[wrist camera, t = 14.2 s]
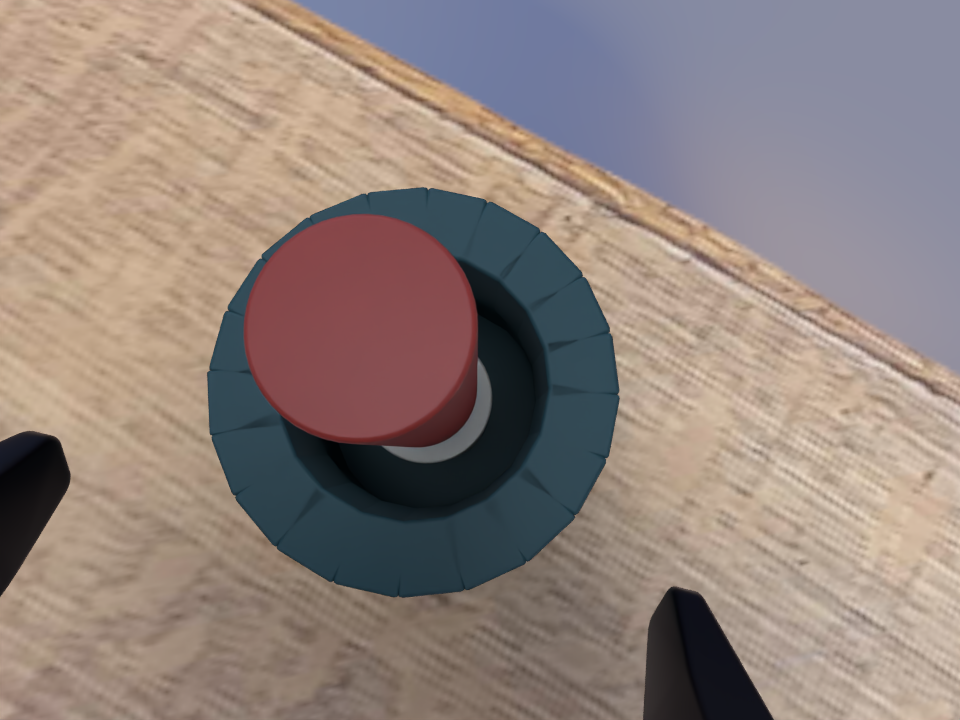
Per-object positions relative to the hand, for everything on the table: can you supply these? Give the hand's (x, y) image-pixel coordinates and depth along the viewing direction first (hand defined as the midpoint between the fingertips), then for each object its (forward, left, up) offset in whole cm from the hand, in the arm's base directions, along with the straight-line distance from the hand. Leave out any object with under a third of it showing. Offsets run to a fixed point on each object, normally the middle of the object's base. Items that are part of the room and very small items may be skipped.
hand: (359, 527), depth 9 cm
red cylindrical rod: (+2, -1, -10) cm, 10 cm away
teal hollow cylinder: (+2, -1, -11) cm, 11 cm away
